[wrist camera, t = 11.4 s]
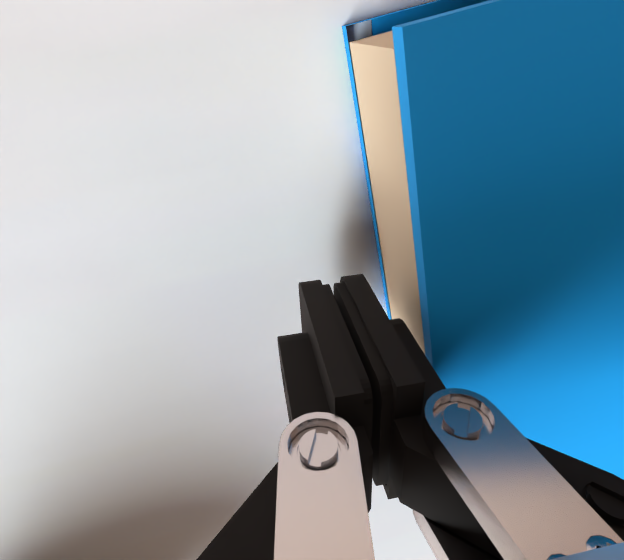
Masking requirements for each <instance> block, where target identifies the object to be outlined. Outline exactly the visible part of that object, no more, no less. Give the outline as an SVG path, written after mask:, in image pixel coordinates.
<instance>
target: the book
mask: <svg viewBox="0 0 624 560" xmlns="http://www.w3.org/2000/svg"><path fill="white" fill-rule="evenodd" d="M370 19H371V20H372V36H370V37H367V38H363V39H359V40H356V41H352V42H349V43H350V49H351V56H352V62H353V69H354V75H355V82H356V88H357V95H358V101H359V108H360V115H361V121H362V128H363V134H364V141H365V147H366V154H367V160H368V167H369V173H370V180H371V186H372V193H373V199H372V193H371V186H370V180H369V173H368V167H367V160H366V154H365V147H364V141H363V134H362V128H361V122H360V115H359V109H358V102H357V96H356V89H355V83H354V76H353V70H352V63H351V57H350V50H349V44H348V38H347V31H346V26H348V25H352V24H356V23H359V22H363V21H367V20H370ZM370 19H366V20H363V21H359V22H355V23H352V24H348V25H344V26H342V29H343V35H344V42H345V48H346V54H347V61H348V67H349V73H350V80H351V86H352V92H353V98H354V105H355V111H356V117H357V124H358V130H359V136H360V143H361V149H362V155H363V161H364V168H365V174H366V180H367V187H368V193H369V199H370V205H371V212H372V218H373V224H374V231H375V237H376V243H377V250H378V256H379V262H380V268H381V275H382V281H383V287H384V294H385V300H386V306H387V313H388V318H389V320H390V319H397V318H400V319H402V320H403V321H404V322H405V324H406V325H407V327H408V329H409V330H410V332H411V333H412V335H413V337H414V338H415V340H416V341H417V343H418V344H419V346H420V348H421V349H422V351H423V352H424V354H425V356H426V357H427V359H428V360H429V362H430V364H431V365H432V367H433V368H434V370H435V372H436V373H437V375H438V376H439V378H440V380H441V381H442V383H443V384H444V386H445V388H446V389H448V388H461V389H466V390H470V391H473V392H476V393H478V394H480V395H482V396H484V397H486V398H487V399H488V400H489V401H490V402H492V403H493V404H494V405H495V406H496V407H497V408H498V409H499V410H500V411H501V412H502V413H503V414H504V416H505V417H506V418H507V419H508V420H509V421H510V422H511V423H512V424H513V425H514V426H515V427H516V428H517V429H518V430H519V431H520V432H521V433H522V435H523V436H524V437H525V438H528V439H530V440H533V441H535V442H537V443H540V444H542V445H545V446H547V447H549V448H552V449H554V450H557V451H559V452H561V453H564V454H566V455H569V456H571V457H573V458H576V459H578V460H581V461H583V462H585V463H588V464H590V465H593V466H595V467H597V468H600V469H602V470H605V471H607V472H609V473H612V474H614V475H616V476H618V477H620V478H621V479H623V480H624V0H436V1H433V2H429V3H425V4H421V5H418V6H414V7H410V8H407V9H403V10H399V11H396V12H392V13H388V14H385V15H381V16H377V17H374V18H370ZM373 200H374V206H375V212H374V206H373ZM375 213H376V218H375ZM376 219H377V225H376ZM377 226H378V231H377ZM378 232H379V238H378ZM379 239H380V244H379ZM380 245H381V251H380ZM381 252H382V257H381ZM382 258H383V264H382ZM383 265H384V270H383ZM384 271H385V277H384ZM385 278H386V283H385ZM386 284H387V290H386ZM387 291H388V296H387ZM388 301H389V302H388Z"/></svg>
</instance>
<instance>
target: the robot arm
mask: <svg viewBox="0 0 624 560" xmlns="http://www.w3.org/2000/svg"><path fill="white" fill-rule="evenodd" d="M299 297H300V309H301V322H302V333H298V334H292V335H285V336H279V337H277V338H278V348H279V356H280V364H281V372H282V379H283V385H284V392H285V398H286V404H287V410H288V416H289V422H290V424H288V425H287V427H286V428H285V430H284V431H283V433H282V434H281V438H280V443H279V455H278V463H277V464H276V465H275V466H274V467H273V469H272V470H271V471H270V472H269V473H268V475H267V476H266V477H265V478H264V479H263V481H262V482H261V483H260V484H259V485H258V487H257V488H256V489H255V490H254V491H253V493H252V494H251V495H250V496H249V497H248V499H247V500H246V501H245V502H244V503H243V505H242V506H241V507H240V508H239V509H238V511H237V512H236V513H235V514H234V515H233V517H232V518H231V519H230V520H229V521H228V523H227V524H226V525H225V526H224V527H223V529H222V530H221V531H220V532H219V533H218V535H217V536H216V537H215V538H214V539H213V541H212V542H211V543H210V544H209V545H208V547H207V548H206V549H205V550H204V551H203V553H202V554H201V555H200V556H199V557H198V559H197V560H375V557H374V550H373V543H372V537H371V530H370V523H369V516H368V512H369V511H370V509H371V493H372V478H373V481H374V483H375V485H376V486H378V485H383V486H384V489H385V492H386V494H387V497H388V499H392V498H397V497H398V498H399V501H400V502H401V503H403V504H404V505H406V506H408V507H410V508H411V509H413V515H414V517H415V520H416V522H417V524H418V526H419V528H420V530H421V531H422V533H423V535H424V537H425V539H426V540H427V542H428V544H429V546H430V548H431V549H432V551H433V553H434V555H435V557H436V558H437V560H624V480H623V479H621V478H620V477H618V476H616V475H614V474H612V473H609V472H607V471H605V470H602V469H600V468H597V467H595V466H593V465H590V464H588V463H585V462H583V461H581V460H578V459H576V458H573V457H571V456H569V455H566V454H564V453H561V452H559V451H557V450H554V449H552V448H549V447H547V446H545V445H542V444H540V443H537V442H535V441H533V440H530V439H528V438H525V437H524V436H523V435H522V433H521V432H520V431H519V430H518V429H517V428H516V427H515V426H514V425H513V424H512V423H511V422H510V421H509V420H508V419H507V418H506V417H505V416H504V414H503V413H502V412H501V411H500V410H499V409H498V408H497V407H496V406H495V405H494V404H493V403H492V402H490V401H489V400H488V399H487V398H486V397H484V396H482V395H480V394H478V393H476V392H473V391H470V390H466V389H461V388H448V389H446V388H445V386H444V384H443V383H442V381H441V380H440V378H439V376H438V375H437V373H436V372H435V370H434V368H433V367H432V365H431V364H430V362H429V360H428V359H427V357H426V356H425V354H424V352H423V351H422V349H421V348H420V346H419V344H418V343H417V341H416V340H415V338H414V337H413V335H412V333H411V332H410V330H409V329H408V327H407V325H406V324H405V322H404V321H403V320H402V319H400V318H397V319H390V320H389V318H388V316H387V315H386V313H385V311H384V310H383V308H382V306H381V304H380V303H379V301H378V299H377V298H376V296H375V294H374V292H373V291H372V289H371V287H370V285H369V284H368V282H367V280H366V279H365V277H364V275H363V274H359V275H352V276H344V277H341V280H340V283H334V295H333V292H332V290H331V288H330V285H329V284H326V285H322V283H321V281H320V280H315V281H307V282H300V283H299Z"/></svg>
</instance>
